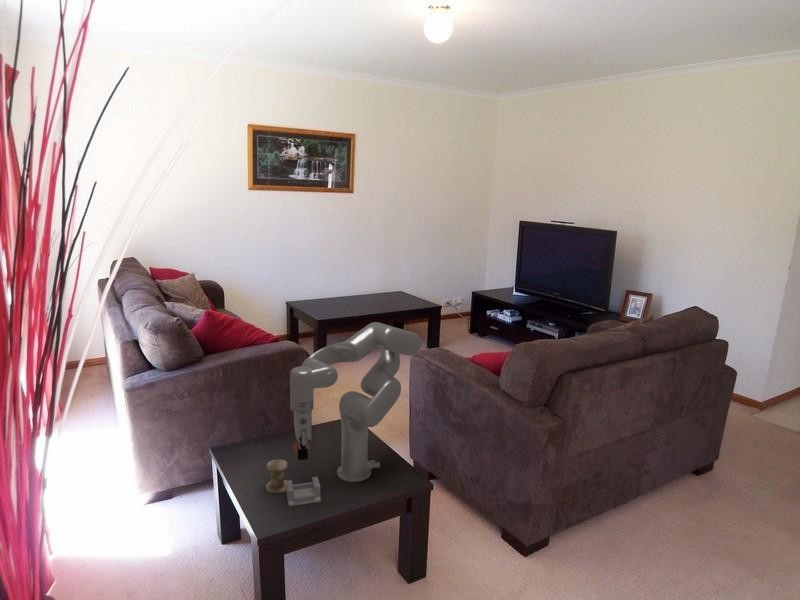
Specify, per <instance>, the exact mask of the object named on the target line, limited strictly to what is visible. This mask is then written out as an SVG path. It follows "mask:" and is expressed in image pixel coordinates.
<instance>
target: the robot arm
mask: <svg viewBox="0 0 800 600" xmlns="http://www.w3.org/2000/svg"><path fill="white" fill-rule="evenodd" d="M377 348H380V349H381V354H380V356H379V358H378V359H377V360H376V362H375V363H374V364H373V366H371V368H370V369H369V370H368V371H367V372H366V373H365V375H364V376H363V378H362V379H361V381H360V389H361V391H362V392H363V393H361V392H358V391H354V390H353V391H352V390H350V391H347V392H345V393H344V394H343V395H342V396H341V397H340V399H339V404H338V405H339V406H338V411H339V415H340V422H341V423H340V424H341V449H340V450H341V462H340V464H341V465H339V467H338V468H337V470H336V475H337V476H338V478H339V479H340V480H342V481H345V482H349V483H358V482H363V481H365V480H367V479H369V478H370V477H371V475H372V469H379V468H381V463H380V461H379V462H378V461H376V460H375V459H372V460H369V459H368V446H369V445H368V442H369V441H368V440H369V439H368V438H369V437H368V435H369V428H373V427H375V426H377V425H378V424H380V423H381V421H382V420H383V419H384V418H385V417H386V415H387V414H388V413H389V412H390V410H391V409H392V408H393V406H394V405H395V404H396V403H397V401H398V400H399V399H400V396H401V393H402V384H401V382H400V380H399V379H398V378H396V377H395V376H396V374H397V373H398V371H399V370H400V366H401V356H400V355H404V356H409V357H411V356H415V355H417V354H418V353H419V352H420V350H421V348H422V338H421V337H420V336H419V335H418V334H417V333H416V332H413V331H409V330H404V329H402V328H399V327H395V326H392V325H388V324H385V323H382V322H379V321H378V322H377V321H374V322H370V323H369V324H367V325H365V327H363V328H361V329H359V331H357V332H355V334H353V335H351V336H350V337H349V338H347V339H346V340H344V341H340V342H337V343H333V344H330V345H327V346H325V347H322V348H320V349H318V350H316V351H315V352H314V353H311V354H310V355H309V356H308V357H307V358H305V360H304V361H303V363H302V364H301V365H300V366H299V365H298V366H296V367H293V368H291V370H290V373H289V374H290V377H289V380H290V381H289V389H290V390H289V392H290V393H289V394H290V395H289V396H290V397H289V398H290V399H289V400H290V401H289V403H290V406H289V407H290V411H291V412H293V424H294V425H293V426H294V427H293V428H294V433H295V443H296V442H297V441H299V448H298V456H297V460H298V461H303V460H308V459H309V453H308V447H307V442H308V441H312V439H313V438H312V413H311V411H313V410H314V400H315V399H314V397H315V396H314V389H323V388H324V389H325V388H329V387H331V386H333V385H335V383H337V380H338V378H339V373H338V371H337V369H336V368H335V367H334V366H331V365H334V364H339V363H355V362H356V363H357V362H359V361H361V360H362V359H363V358H365V357H366V356H367V355H368V354H370V353H371V352H373V351H374V350H375V349H377ZM364 393H365V394H366V395H365V394H364ZM367 395H368V396H367ZM369 396H370V397H369ZM300 442H302V444H301V445H300Z"/></svg>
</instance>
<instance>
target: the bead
mask: <svg viewBox="0 0 800 600" xmlns="http://www.w3.org/2000/svg"><path fill="white" fill-rule="evenodd" d="M301 444H302V442H300V445H301ZM307 447H308V454H309V452H310V450H311V444H310V443H309V442H308V441H307ZM292 448H293V450H292V451H293V453H294V454H295V455H296V456H297V457H298V448H299V441H297V442H296V441H295V442H294V445H293V447H292Z"/></svg>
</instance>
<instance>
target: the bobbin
mask: <svg viewBox="0 0 800 600" xmlns="http://www.w3.org/2000/svg"><path fill="white" fill-rule="evenodd" d="M287 468H288V462H287V461H286V460H285V459H278V458H277V459H272V460H270V461H268V462H267V463H266V469H267V470H268V471H270V480H269V481H268V482H267V483H266V484H265V490H266V492H267V493H270V494H274V495H278V494H282V493H286V489H287V483H286V479H285V470H286V469H287Z"/></svg>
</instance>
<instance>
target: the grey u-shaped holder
mask: <svg viewBox="0 0 800 600" xmlns="http://www.w3.org/2000/svg"><path fill="white" fill-rule="evenodd" d="M285 480H286V479H285ZM311 480H312V481H310V482H304V483H303V482H302V483H295V484H293V480H292V479H288V480H286V483H287V489H286V491H285V493H286V498H287V505H288V507H293V506H301V505H307V504H312V503H313V504H314V503H321V502H322V499H321V484H320V480H319V478H318V476H312V477H311Z"/></svg>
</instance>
